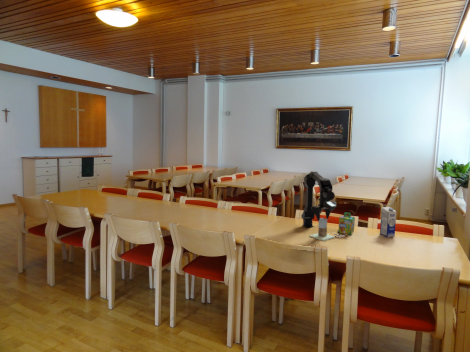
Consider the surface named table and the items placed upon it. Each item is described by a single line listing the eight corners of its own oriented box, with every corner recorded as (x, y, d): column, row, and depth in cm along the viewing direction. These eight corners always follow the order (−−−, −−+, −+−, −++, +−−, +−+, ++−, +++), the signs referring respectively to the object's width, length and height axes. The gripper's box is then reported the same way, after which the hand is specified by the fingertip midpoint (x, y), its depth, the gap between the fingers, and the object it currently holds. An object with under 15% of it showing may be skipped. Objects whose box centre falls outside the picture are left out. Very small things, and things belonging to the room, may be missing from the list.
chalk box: (338, 233, 237) (338, 213, 235) (341, 230, 245) (342, 210, 243) (351, 235, 232) (352, 214, 230) (354, 232, 240) (355, 212, 238)
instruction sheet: (327, 234, 234) (327, 234, 234) (333, 232, 238) (334, 232, 238) (339, 237, 226) (339, 237, 226) (345, 236, 230) (345, 235, 230)
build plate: (309, 236, 229) (309, 235, 229) (321, 233, 236) (321, 232, 236) (323, 241, 219) (323, 239, 219) (334, 237, 226) (335, 236, 226)
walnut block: (318, 235, 228) (318, 227, 227) (321, 234, 230) (322, 226, 229) (322, 237, 225) (323, 228, 224) (326, 236, 227) (326, 227, 226)
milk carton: (387, 233, 237) (389, 206, 234) (394, 236, 231) (396, 208, 228) (379, 234, 234) (381, 207, 232) (387, 237, 228) (389, 209, 225)
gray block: (318, 227, 227) (318, 218, 226) (322, 226, 229) (322, 217, 229) (322, 228, 224) (323, 219, 223) (326, 227, 226) (327, 219, 225)
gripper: (324, 200, 212) (323, 224, 214) (342, 197, 223) (341, 220, 225) (311, 198, 221) (310, 220, 223) (328, 195, 232) (328, 216, 234)
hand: (323, 219), depth 226 cm, fingers open, 9 cm apart
